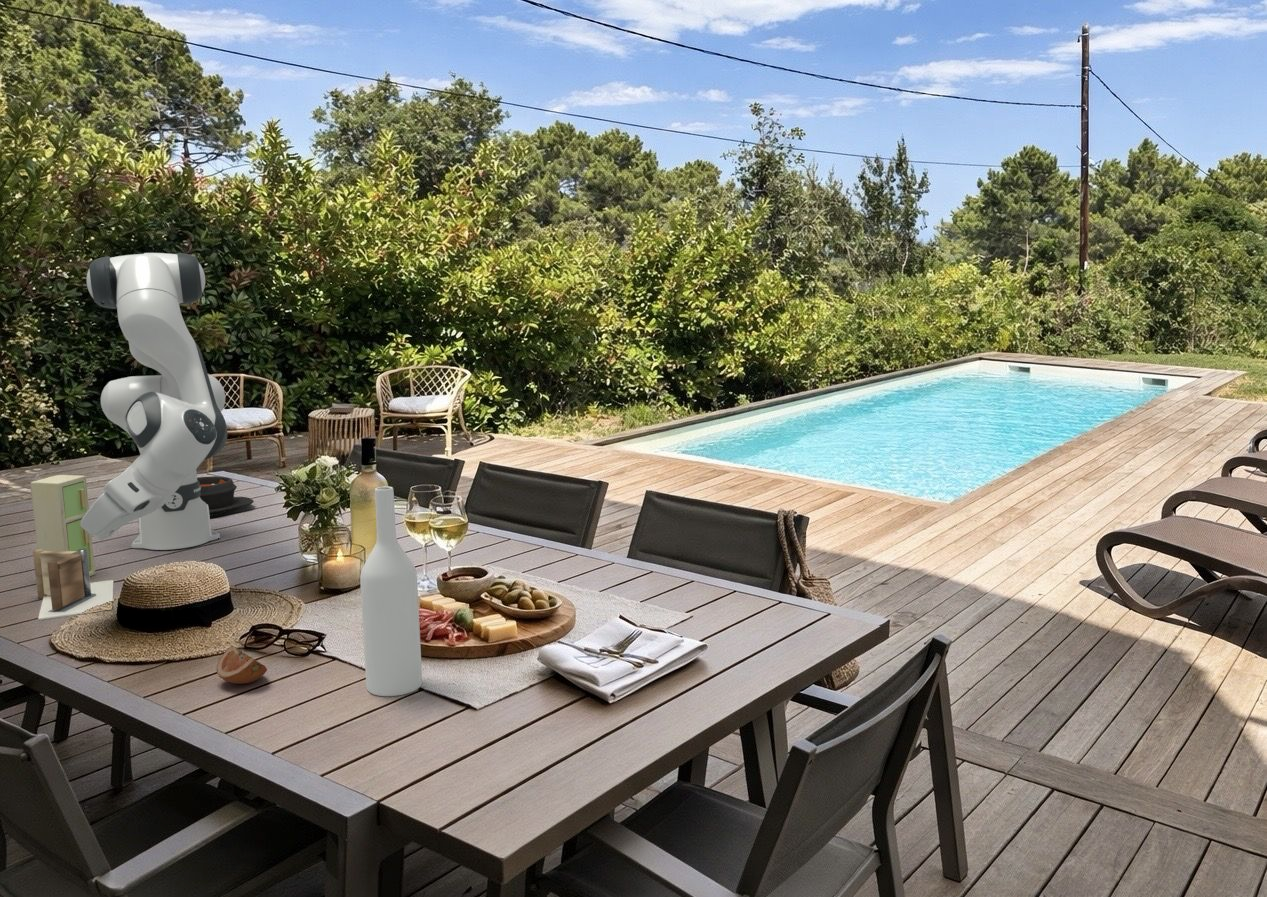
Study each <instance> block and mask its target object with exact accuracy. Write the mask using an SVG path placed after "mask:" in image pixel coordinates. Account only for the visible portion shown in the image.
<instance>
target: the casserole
mask: <svg viewBox="0 0 1267 897" xmlns="http://www.w3.org/2000/svg"><path fill="white" fill-rule="evenodd" d="M197 480H198V481H199V483H200V487H201V490H200V492H201V495H200V498H201V500H202V501H204V502H205V503H206V504H208V507H209V515H213V516H217V515H216V514H218V515H221V514H224V513H227V512H229V511H230V510H233V509H237V508H242V507H246V506H250V505H252V504H253V503H254V499H252V498H251V497H247V496H235V490H236V489H238V488H237V485H236V484H235V483H234V481H233V479H232V478H230V477H225V476H199V477H198V476H197ZM229 509H230V510H229ZM226 511H227V512H226ZM220 513H221V514H220Z"/></svg>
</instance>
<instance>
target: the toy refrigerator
mask: <svg viewBox="0 0 1267 897" xmlns="http://www.w3.org/2000/svg"><path fill="white" fill-rule="evenodd" d="M29 487H30V493H31V494H30V495H31V503H32V511H33V512H32V514H33V520H34V529H35V530H34V531H35V532H34V533H35V538H36V539H35V541H36V549H42V551H77V550H79V549H87V556H88V566H89V576H90V577H91V576H94V575H96V567H95V566H96V565H95V557H94V547H93V546H94V545H93V537H92V536H91V535H89V534H88V533H87V532H86V531H85V530H84V529H83V528H82V527H81V525H80V524H81V520H82V518H83V517H84V515H85V514H86V513H87V511H88V510H89V509H90V504H89V494H88V485H87V476H85V475H77V474H75V475H72V474H57V475H52V476H48V477H45V478H42V479H38V480H34V481H31V482H30V486H29Z"/></svg>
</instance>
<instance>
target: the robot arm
mask: <svg viewBox="0 0 1267 897" xmlns="http://www.w3.org/2000/svg"><path fill="white" fill-rule="evenodd" d="M205 286H206V275H205V271H204V269H203V267H202V264H201V263H200V262H199V259H198V258H197V257H196V256H194V255H193V254H188V253H183V252H177V253H169V252H168V253H165V252H143V253H137V254H136V253H135V254H134V253H133V254H125V255H118V256H114V257H113V256H112V257H110V256H109V255H108V256H102V257H99V258H96V259H94V260H93V261H92V262H91V263H90V264H89V268H88V270H87V274H86V287H87V290H88V292H89V294H90V296H91V298H92V299H93V302H94V303H95V304H96V305H98V306H100V308H106V309H112V310H113V309H114V310H117V320H118V324H119V327H120V329H121V332H122V334H123V336H124V338H125V340H126V341H128V346H129V348H128V349H129V351H130V354H131V356H132V357H133V358H134V359H135V360H136V361H137V362H138V363H139V364H141V365H142V366H145V367H147V368H151V369H152V370H155V371H156V372H158V373H159V375H156V374H155V375H135V376H134V375H133V376H127V377H121V378H117V379H113V380H110V381H108V382H107V383H106V385H105V386H104V387H103V389H102V391H101V395H100V406H101V409H102V412H103V413H104V415H105V417H107V419H108V420H109V421H111V422H112V423H113V424H115V425H117V426H119V427H120V428H121V429H122V430H124V431H125V432H126V433H127V434H128V435H129V437H131V439H132V440H133V441H134V442H133V443H134V444H135V445H136V446H137V448H138V451H139V454H140V455H139V456H138V457H137V458H135V460H134V461H133V462H132V463H131V464H130V465H129V466H128V467H126V469H125V470H124V471H122V473H120V474H118V475H117V476H115V477H114V478H112V479H110V480H109V481H107V483H106V484H105V485H104V487H103V490H104V492H103V493H102V494H100V496H98V497H97V498H96V500H95V501H94V502H93V504H91V506H89V510H88V511H87V513H86V514H85V515H84V517H83V518H82V520H81V524H80V525H81V527H82V528H83V529H84V530H85V531H86V532H87V533H88V534H89V535H91V536H92V538H98V539H99V540H101V541H103V540H105V539H106V538H109V537H111V536H113V535H114V534H115V533H116V531H118V530H119V529H121V528H122V527H123V526H124V525H127V524H129V523H131V522H133V521H136V520H137V524H138V525H139V526H138V533H139V534H138V536H137V537H135V539H134V540H133V541H132V543H131V548H132V549H146V550H152V551H153V550H154V551H159V550H160V551H168V550H179V549H187V548H191V547H196V546H201V545H203V544H207V543H208V542H210V541H211V542H212V541H215V540H219V539H221V534H220V533H219V532H218V531H216V530H215V529H212V526H211V518H210V517H211V516H209V507H208V504H206V503H205V502H204V501H202V500H201V498H200V495H201V492H200V490H201V487H200V483H199V481H198V480H197V477H198V474H197V473H198V472H197V469H198V467H199V466H200V465H201V464H202V462H204V461H207V460H209V459H211V458H212V457H214V456H215V455H217V454H219V452H220V451H222V449H223V448H224V446H225V445H226V443H227V440H228V426H227V422H226V419H225V418H224V415H223V413H222V411H223V410H224V407H225V403H226V393H225V390H224V387H223V385H222V383H221V382H220V381H219V380H218V379H217V378H216V377H215V376H213V375H211V374H210V373H208V370H207V368H206V363H205V361H204V357H203V355H202V352H201V348H200V347H199V345H198V343H196V341H195V339H194V338H193V336H192V334H191V333H190V331H189V329H188V327H187V325H186V323H185V320H184V318H183V315H182V312H181V307H180V304H183V305H187V304H192V303H195V302H197V301H199V299H201V298H202V296H203V292H204V290H205ZM218 538H219V539H218Z"/></svg>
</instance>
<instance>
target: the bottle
mask: <svg viewBox="0 0 1267 897" xmlns="http://www.w3.org/2000/svg"><path fill="white" fill-rule="evenodd" d="M394 492H395V491H394V487H393V486H385V485H384V486H378V487H375V489H374V499H375V501H374V502H375V518H376V519H375V522H376V524H375V525H376V542H375V544H374V546H373V549H372V550H371V552H370V554H369V555H368V557H367V560H365V563H364V564H363V567H362V569H361V571H360V577H359V579H360V580H359V581H360V582H359V583H360V600H361V614H362V615H361V616H362V617H361V618H362V632H363V633H362V634H363V649H364V650H363V652H364V665H365V666H364V667H365V685H366V689H367V691H368V693H370V694H372V695H375V696H377V697H378V696H379V697H396V696H403V695H404V696H405V695H406V694H407V695H408V694H410V693H413V692H416V691H417V690H419V689H420V687H421V686H422V684H423V672H422V670H423V669H422V652H421V651H422V650H421V630H420V628H421V627H420V611H419V609H420V608H419V607H420V606H419V590H418V588H419V587H418V575H417V569H416V566H415V565H414V563H413V561H412V560H411V558H410V557H409V556H408V554H407V553H406V551H405V550H404V548H403V547H402V546H401V544H400V543H399V541H398V539H397V531H396V530H397V529H396V513H395V511H396V510H395V494H394Z"/></svg>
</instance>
